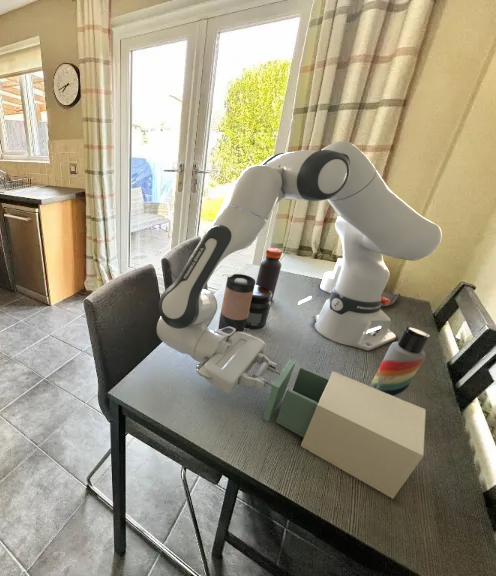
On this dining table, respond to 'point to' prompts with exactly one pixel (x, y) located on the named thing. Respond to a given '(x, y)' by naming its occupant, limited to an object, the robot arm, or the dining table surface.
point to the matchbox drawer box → (367, 433)
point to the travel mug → (236, 302)
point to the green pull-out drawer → (293, 396)
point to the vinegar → (269, 270)
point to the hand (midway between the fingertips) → (270, 376)
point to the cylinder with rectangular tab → (331, 277)
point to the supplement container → (259, 308)
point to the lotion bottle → (401, 363)
